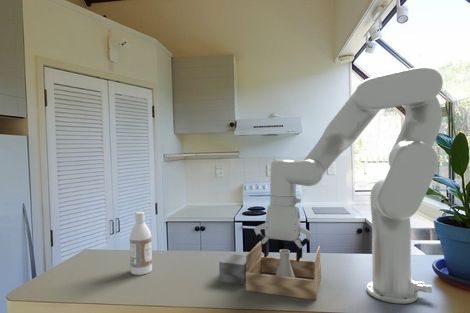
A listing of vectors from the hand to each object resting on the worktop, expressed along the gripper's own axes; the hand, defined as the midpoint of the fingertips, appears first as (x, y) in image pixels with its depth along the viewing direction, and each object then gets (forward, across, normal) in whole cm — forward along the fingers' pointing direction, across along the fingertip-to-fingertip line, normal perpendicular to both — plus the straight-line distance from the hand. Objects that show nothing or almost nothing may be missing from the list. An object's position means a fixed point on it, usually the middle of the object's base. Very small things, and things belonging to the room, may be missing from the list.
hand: (282, 258), depth 97 cm
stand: (+8, +14, 0) cm, 17 cm away
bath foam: (+9, +47, +4) cm, 48 cm away
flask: (+8, -1, 0) cm, 8 cm away
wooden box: (+8, -1, 0) cm, 8 cm away
